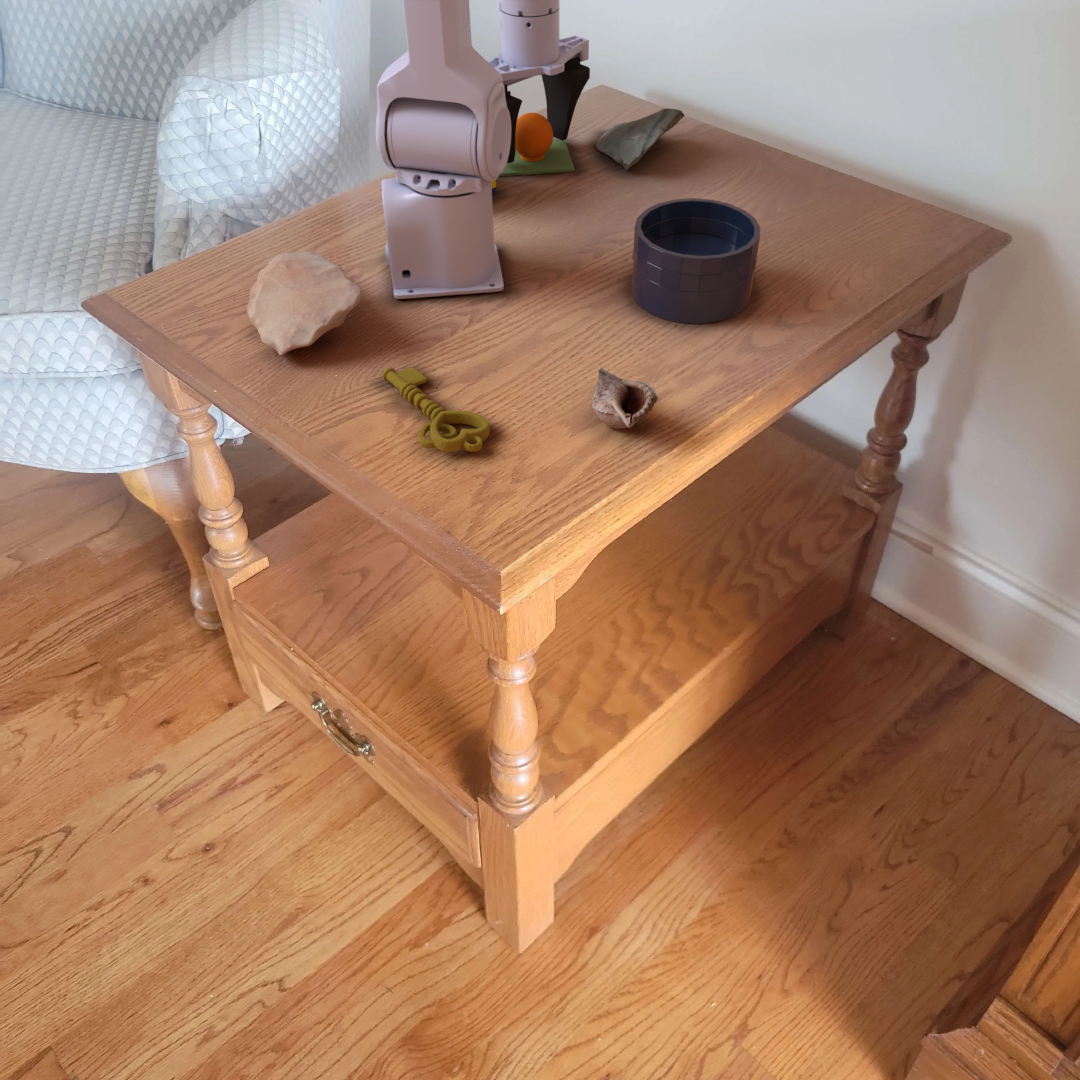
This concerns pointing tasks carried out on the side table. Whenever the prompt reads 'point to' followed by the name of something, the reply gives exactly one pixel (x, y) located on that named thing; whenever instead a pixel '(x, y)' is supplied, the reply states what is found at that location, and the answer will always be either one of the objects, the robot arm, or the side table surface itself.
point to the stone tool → (300, 300)
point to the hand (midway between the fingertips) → (531, 148)
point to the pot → (694, 260)
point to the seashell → (622, 400)
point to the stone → (637, 136)
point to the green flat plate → (542, 162)
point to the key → (439, 416)
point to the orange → (533, 136)
